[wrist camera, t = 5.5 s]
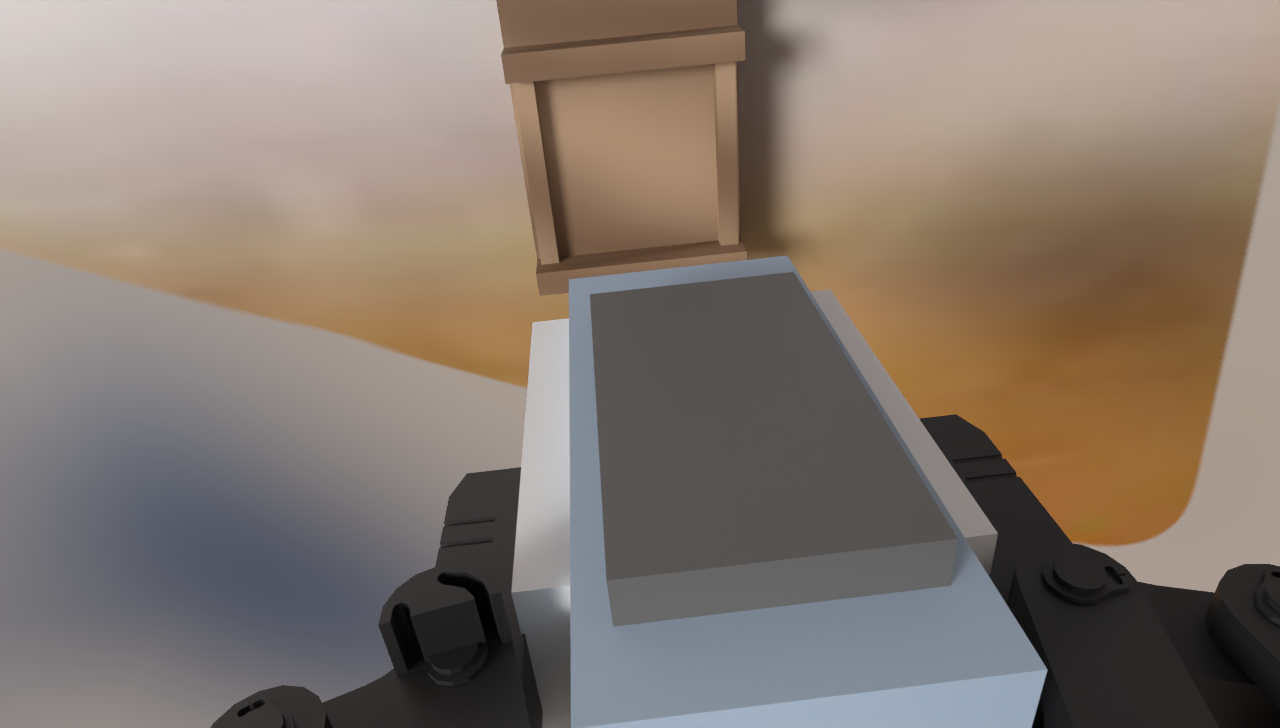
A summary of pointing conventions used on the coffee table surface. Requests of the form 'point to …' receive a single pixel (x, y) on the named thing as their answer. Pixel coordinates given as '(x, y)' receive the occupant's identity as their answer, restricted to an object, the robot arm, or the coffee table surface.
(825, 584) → the block
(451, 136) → the coffee table surface
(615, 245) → the brown boxy frame piece
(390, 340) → the coffee table surface
